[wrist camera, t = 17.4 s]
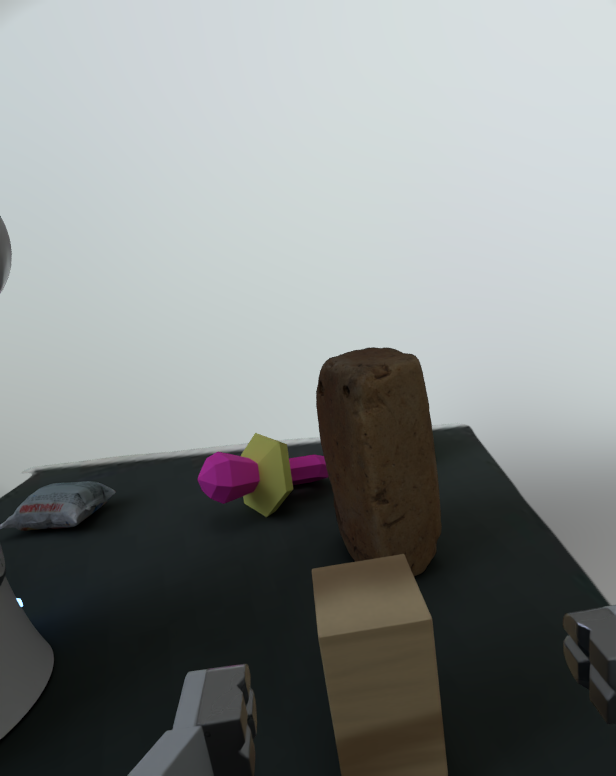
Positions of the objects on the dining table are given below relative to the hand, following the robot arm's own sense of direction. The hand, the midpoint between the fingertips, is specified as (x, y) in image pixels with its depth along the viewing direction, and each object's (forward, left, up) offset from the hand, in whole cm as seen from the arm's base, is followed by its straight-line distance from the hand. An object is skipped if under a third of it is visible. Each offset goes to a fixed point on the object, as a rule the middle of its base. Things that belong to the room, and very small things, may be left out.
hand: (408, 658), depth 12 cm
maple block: (+4, +12, -18) cm, 22 cm away
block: (+13, +29, -18) cm, 37 cm away
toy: (+6, +46, -18) cm, 50 cm away
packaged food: (-20, +58, -18) cm, 64 cm away
